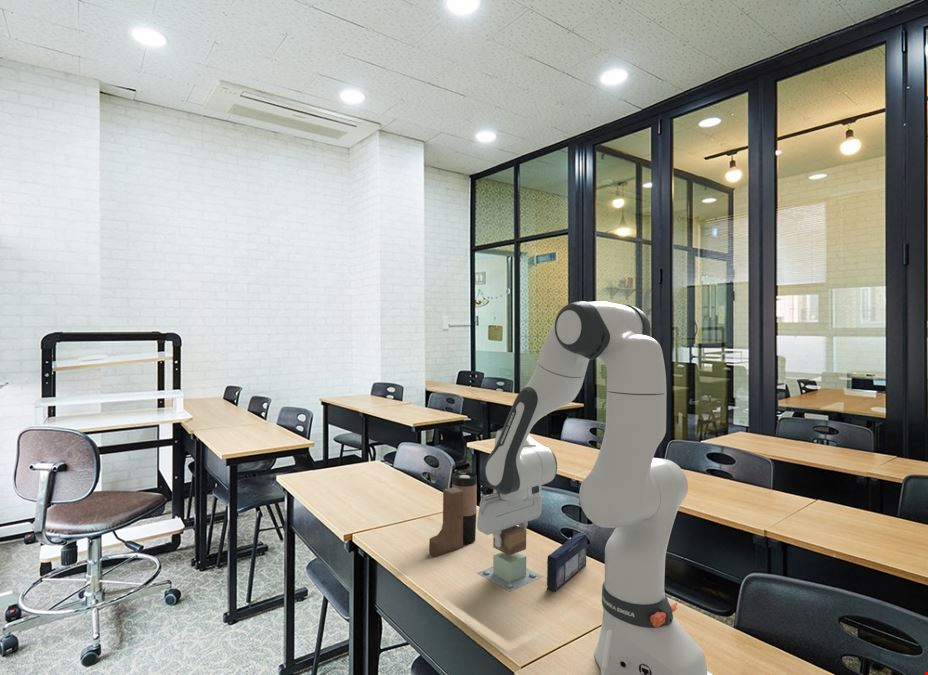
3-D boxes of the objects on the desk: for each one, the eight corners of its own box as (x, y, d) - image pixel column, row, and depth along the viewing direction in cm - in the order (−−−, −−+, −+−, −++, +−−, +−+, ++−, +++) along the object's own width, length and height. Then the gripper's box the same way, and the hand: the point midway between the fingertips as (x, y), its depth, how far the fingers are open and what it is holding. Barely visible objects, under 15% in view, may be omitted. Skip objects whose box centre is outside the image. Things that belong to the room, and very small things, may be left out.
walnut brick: (526, 549, 129) (526, 529, 129) (509, 555, 125) (509, 535, 125) (509, 541, 134) (509, 522, 134) (493, 547, 130) (493, 528, 130)
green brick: (526, 575, 129) (526, 556, 129) (509, 582, 125) (509, 562, 125) (509, 567, 134) (509, 548, 134) (493, 573, 130) (493, 554, 130)
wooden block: (436, 559, 141) (437, 495, 141) (428, 553, 145) (429, 491, 145) (463, 552, 146) (463, 490, 146) (454, 546, 150) (455, 486, 150)
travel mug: (466, 547, 150) (467, 480, 149) (446, 540, 154) (447, 475, 154) (481, 538, 156) (481, 474, 155) (461, 532, 160) (462, 470, 160)
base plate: (542, 582, 129) (542, 574, 129) (509, 597, 121) (509, 589, 121) (509, 565, 138) (509, 558, 138) (476, 578, 130) (476, 571, 130)
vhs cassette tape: (555, 599, 121) (555, 558, 121) (544, 595, 123) (545, 554, 123) (588, 571, 135) (588, 534, 135) (578, 568, 137) (578, 532, 137)
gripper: (489, 500, 120) (488, 557, 121) (545, 484, 133) (545, 536, 134) (472, 493, 125) (471, 548, 125) (528, 479, 138) (527, 528, 138)
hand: (509, 542), depth 130 cm, fingers closed on walnut brick, 6 cm apart
